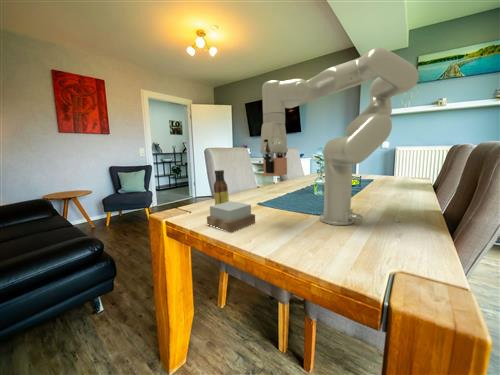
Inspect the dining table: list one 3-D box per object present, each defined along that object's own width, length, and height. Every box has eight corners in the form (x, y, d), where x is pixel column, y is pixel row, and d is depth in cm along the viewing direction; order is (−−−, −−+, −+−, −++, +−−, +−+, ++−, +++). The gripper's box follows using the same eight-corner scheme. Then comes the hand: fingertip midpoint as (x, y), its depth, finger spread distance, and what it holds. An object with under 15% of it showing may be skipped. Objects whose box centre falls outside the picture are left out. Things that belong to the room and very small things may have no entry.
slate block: (251, 214, 83) (250, 204, 83) (230, 222, 75) (229, 210, 75) (231, 210, 91) (231, 201, 90) (210, 216, 83) (209, 206, 82)
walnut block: (255, 224, 84) (255, 214, 84) (230, 234, 75) (230, 223, 74) (232, 218, 93) (231, 209, 92) (207, 226, 83) (206, 216, 83)
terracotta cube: (287, 174, 79) (286, 157, 78) (277, 176, 74) (277, 158, 73) (273, 173, 82) (272, 157, 82) (263, 175, 78) (263, 158, 77)
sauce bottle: (230, 211, 101) (229, 169, 98) (228, 215, 95) (226, 170, 92) (217, 211, 102) (214, 169, 99) (213, 215, 96) (211, 170, 93)
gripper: (278, 123, 84) (279, 169, 87) (249, 119, 71) (251, 174, 74) (296, 120, 79) (296, 170, 82) (268, 116, 66) (269, 175, 69)
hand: (275, 171), depth 78 cm, fingers closed on terracotta cube, 6 cm apart
